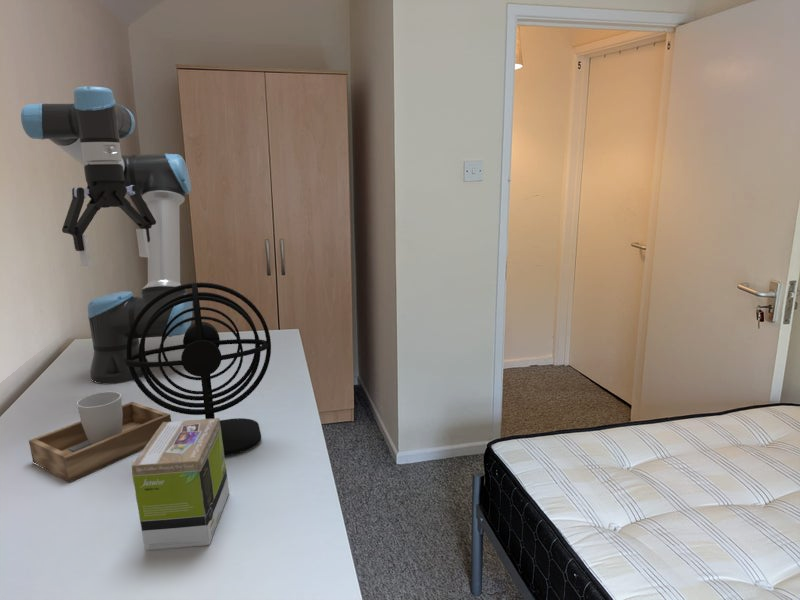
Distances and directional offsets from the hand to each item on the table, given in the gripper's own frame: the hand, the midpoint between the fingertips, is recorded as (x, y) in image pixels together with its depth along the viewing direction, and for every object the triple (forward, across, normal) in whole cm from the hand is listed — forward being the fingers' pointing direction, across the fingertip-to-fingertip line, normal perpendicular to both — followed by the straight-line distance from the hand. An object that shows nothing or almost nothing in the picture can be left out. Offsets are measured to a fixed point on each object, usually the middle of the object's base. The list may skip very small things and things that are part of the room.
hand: (116, 261), depth 128 cm
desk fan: (+37, -2, -28) cm, 47 cm away
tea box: (+37, -21, -47) cm, 63 cm away
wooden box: (+37, -14, -10) cm, 41 cm away
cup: (+36, -14, -10) cm, 40 cm away
